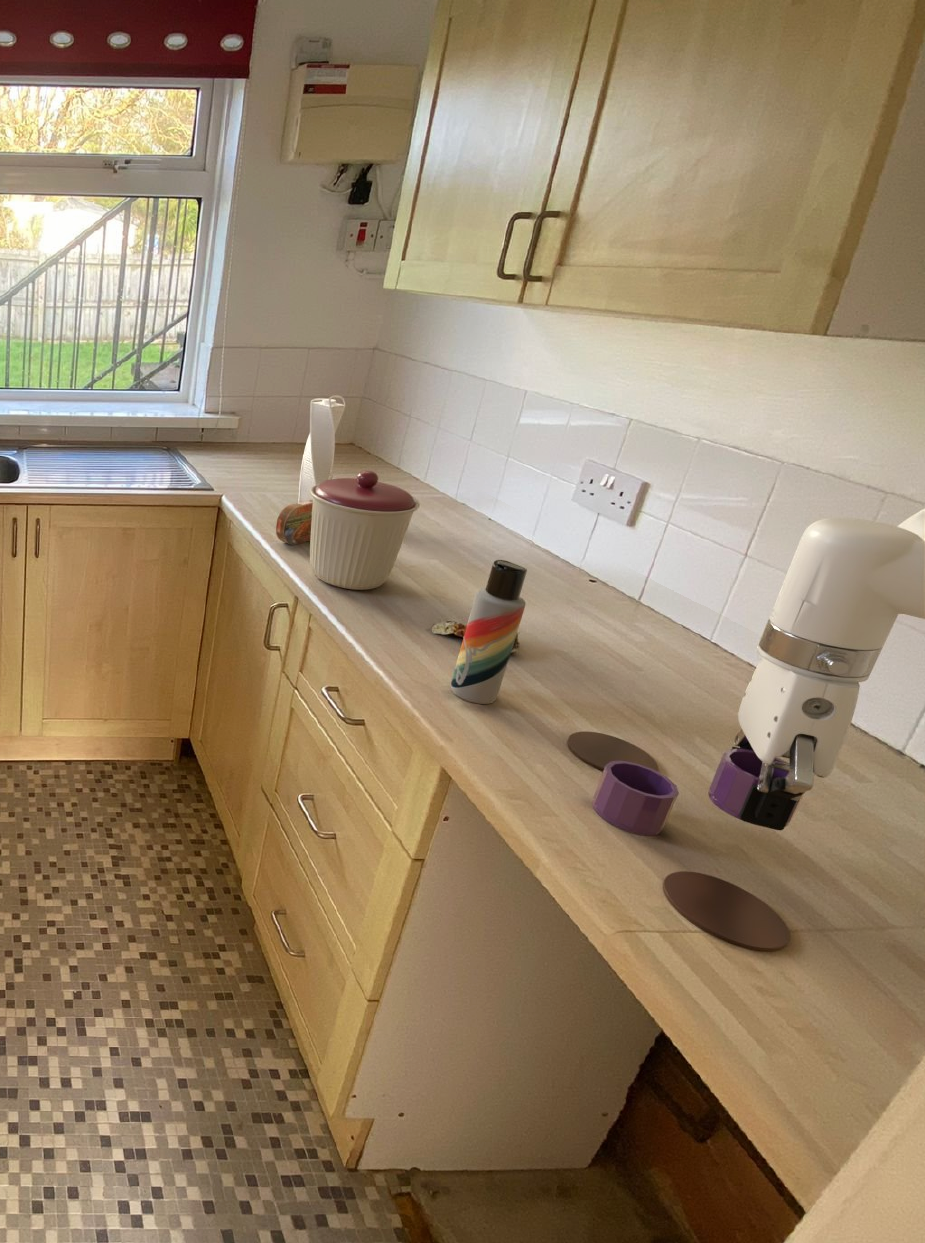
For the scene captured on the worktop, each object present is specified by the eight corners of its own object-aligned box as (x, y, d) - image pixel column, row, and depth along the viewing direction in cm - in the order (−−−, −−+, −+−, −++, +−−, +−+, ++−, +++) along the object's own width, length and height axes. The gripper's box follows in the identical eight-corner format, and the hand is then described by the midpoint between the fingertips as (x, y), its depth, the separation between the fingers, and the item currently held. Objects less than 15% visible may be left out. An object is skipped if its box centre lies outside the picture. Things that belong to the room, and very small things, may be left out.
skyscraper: (330, 519, 175) (353, 397, 164) (293, 515, 177) (314, 394, 166) (326, 507, 182) (348, 390, 172) (291, 504, 184) (310, 388, 174)
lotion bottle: (440, 686, 108) (475, 557, 101) (470, 680, 110) (507, 552, 103) (474, 707, 103) (514, 573, 96) (505, 701, 105) (547, 569, 98)
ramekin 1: (656, 809, 85) (671, 772, 83) (667, 844, 80) (684, 806, 78) (588, 789, 88) (602, 754, 86) (595, 822, 83) (610, 785, 81)
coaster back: (650, 748, 96) (651, 745, 96) (663, 789, 89) (665, 786, 88) (564, 726, 100) (564, 723, 100) (570, 763, 93) (571, 760, 93)
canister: (351, 556, 154) (372, 455, 146) (422, 593, 138) (450, 481, 130) (276, 565, 149) (293, 461, 141) (340, 605, 133) (364, 489, 125)
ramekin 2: (779, 799, 79) (796, 760, 78) (799, 837, 74) (818, 795, 72) (701, 780, 82) (717, 741, 80) (716, 815, 77) (733, 774, 75)
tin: (282, 548, 157) (288, 509, 154) (270, 543, 160) (276, 505, 157) (329, 536, 164) (336, 499, 161) (317, 531, 167) (324, 495, 164)
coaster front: (771, 898, 74) (773, 895, 74) (803, 968, 66) (805, 965, 66) (654, 861, 78) (656, 858, 78) (672, 923, 71) (673, 920, 71)
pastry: (435, 622, 127) (440, 602, 126) (519, 644, 121) (526, 624, 119) (427, 637, 122) (433, 617, 121) (515, 661, 115) (522, 641, 114)
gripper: (915, 703, 63) (831, 872, 69) (837, 622, 77) (773, 768, 83) (792, 680, 66) (723, 842, 73) (738, 606, 80) (684, 748, 87)
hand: (750, 801), depth 78 cm, fingers closed on ramekin 2, 6 cm apart
